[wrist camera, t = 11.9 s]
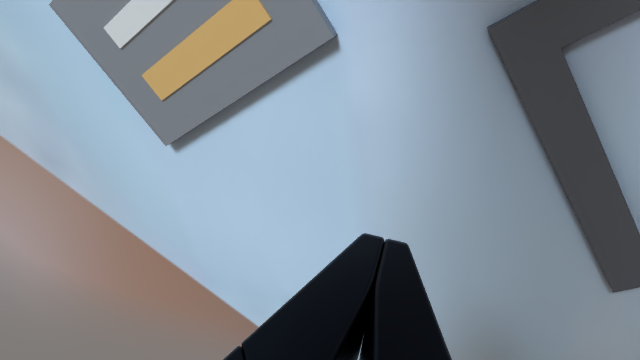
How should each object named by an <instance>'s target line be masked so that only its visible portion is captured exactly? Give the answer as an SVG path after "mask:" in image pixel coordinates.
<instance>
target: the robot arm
mask: <svg viewBox="0 0 640 360" xmlns="http://www.w3.org/2000/svg"><path fill="white" fill-rule="evenodd" d="M363 336H364V337H363ZM362 341H363V342H362ZM361 345H362V347H361ZM360 348H361V352H360ZM359 352H360V359H359V360H452V359H451V357H450V354H449V351H448V349H447V346H446V344H445V341H444V338H443V336H442V333H441V330H440V328H439V325H438V322H437V320H436V317H435V314H434V312H433V309H432V307H431V304H430V301H429V299H428V296H427V293H426V291H425V288H424V285H423V283H422V280H421V277H420V275H419V272H418V270H417V267H416V264H415V262H414V259H413V256H412V254H411V251H410V248H409V246H408V245H407V244H406V243H404V242H400V241H396V240H392V239H386V240H385V242H384V239H383V238H382V237H379V236H375V235H371V234H366V233H364V234H362V235H360V236H359V237H358V238H357V239H356V240H355V241H354V242H353V243H352V244H350V245H349V246H348V247H347V248H346V249H345V250H344V251H343V252H342V253H341V254H339V255H338V256H337V257H336V258H335V259H334V260H333V261H332V262H331V263H330V264H328V265H327V266H326V267H325V268H324V269H323V270H322V271H321V272H320V273H318V274H317V275H316V276H315V277H314V278H313V279H312V280H311V281H310V282H309V283H307V284H306V285H305V286H304V287H303V288H302V289H301V290H300V291H299V292H298V293H296V294H295V295H294V296H293V297H292V298H291V299H290V300H289V301H288V302H286V303H285V304H284V305H283V306H282V307H281V308H280V309H279V310H278V311H277V312H275V313H274V314H273V315H272V316H271V317H270V318H269V319H268V320H267V321H266V322H264V323H263V324H262V325H261V326H260V327H259V328H258V329H257V330H256V331H255V332H253V333H252V334H251V335H250V336H249V337H248V338H247V339H246V340H245V341H243V343H242V347H240V346H238V347H236V348H235V349H234V350H233V351H232V352H231V353H230V354H229V355H228V356H227V357H226V358H224V359H223V360H357V359H358V356H359Z"/></svg>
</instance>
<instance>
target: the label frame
mask: <svg viewBox="0 0 640 360" xmlns="http://www.w3.org/2000/svg"><path fill="white" fill-rule="evenodd" d="M638 11H640V0H537V1H535V2H533V3H531V4H530V5H528V6H526V7H524V8H522V9H520V10H519V11H517V12H515V13H513V14H511V15H509V16H507V17H506V18H504V19H502V20H500V21H498V22H496V23H495V24H493V25H491V26H489V27H487V28H488V31H489V33H490V35H491V38H492V40H493V42H494V44H495V46H496V48H497V50H498V52H499V54H500V56H501V58H502V61H503V63H504V65H505V67H506V69H507V71H508V73H509V75H510V77H511V79H512V82H513V84H514V86H515V88H516V90H517V92H518V94H519V96H520V98H521V100H522V102H523V105H524V107H525V109H526V111H527V113H528V115H529V117H530V119H531V121H532V123H533V125H534V128H535V130H536V132H537V134H538V136H539V138H540V140H541V142H542V144H543V146H544V149H545V151H546V153H547V155H548V157H549V159H550V161H551V163H552V165H553V167H554V169H555V172H556V174H557V176H558V178H559V180H560V182H561V184H562V186H563V188H564V190H565V193H566V195H567V197H568V199H569V201H570V203H571V205H572V207H573V209H574V211H575V213H576V216H577V218H578V220H579V222H580V224H581V226H582V228H583V230H584V232H585V234H586V236H587V239H588V241H589V243H590V245H591V247H592V249H593V251H594V253H595V255H596V257H597V260H598V262H599V264H600V266H601V268H602V270H603V272H604V274H605V276H606V278H607V280H608V283H609V285H610V287H611V289H612V291H613V292H618V291H623V290H628V289H633V288H638V287H640V234H639V232H638V229H637V227H636V225H635V222H634V220H633V218H632V215H631V213H630V211H629V208H628V206H627V203H626V201H625V199H624V196H623V194H622V192H621V189H620V187H619V185H618V182H617V180H616V177H615V175H614V173H613V170H612V168H611V166H610V163H609V161H608V159H607V156H606V154H605V151H604V149H603V147H602V144H601V142H600V140H599V137H598V135H597V133H596V130H595V128H594V125H593V123H592V121H591V118H590V116H589V114H588V111H587V109H586V107H585V104H584V102H583V99H582V97H581V95H580V92H579V90H578V88H577V85H576V83H575V81H574V78H573V76H572V73H571V71H570V69H569V66H568V64H567V62H566V59H565V57H564V55H563V52H562V50H561V48H562V47H564V46H566V45H568V44H570V43H572V42H575V41H577V40H579V39H581V38H583V37H585V36H587V35H589V34H591V33H593V32H596V31H598V30H600V29H602V28H604V27H606V26H608V25H610V24H612V23H614V22H617V21H619V20H621V19H623V18H625V17H627V16H629V15H631V14H633V13H635V12H638Z"/></svg>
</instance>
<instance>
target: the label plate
mask: <svg viewBox="0 0 640 360" xmlns="http://www.w3.org/2000/svg"><path fill="white" fill-rule="evenodd" d="M49 5H50V7H51V8H52V9H53V10H54V11H55V13H56V14H57V15H58V16H59V17H60V19H61V20H62V21H63V22H64V23H65V25H66V26H67V27H68V28H69V30H70V31H71V32H72V33H73V34H74V36H75V37H76V38H77V39H78V40H79V42H80V43H81V44H82V45H83V46H84V48H85V49H86V50H87V51H88V53H89V54H90V55H91V56H92V57H93V59H94V60H95V61H96V62H97V63H98V65H99V66H100V67H101V68H102V69H103V71H104V72H105V73H106V74H107V76H108V77H109V78H110V79H111V80H112V82H113V83H114V84H115V85H116V86H117V88H118V89H119V90H120V91H121V92H122V94H123V95H124V96H125V97H126V98H127V100H128V101H129V102H130V103H131V105H132V106H133V107H134V108H135V109H136V111H137V112H138V113H139V114H140V115H141V117H142V118H143V119H144V120H145V121H146V123H147V124H148V125H149V126H150V128H151V129H152V130H153V131H154V132H155V134H156V135H157V136H158V137H159V138H160V140H161V141H162V142H163V143H164V144H165V146H167V145H169V144H170V143H172V142H173V141H175V140H176V139H178V138H179V137H181V136H182V135H184V134H185V133H187V132H189V131H190V130H192V129H193V128H195V127H196V126H198V125H199V124H201V123H202V122H204V121H205V120H207V119H208V118H210V117H212V116H213V115H215V114H216V113H218V112H219V111H221V110H222V109H224V108H225V107H227V106H228V105H230V104H232V103H233V102H235V101H236V100H238V99H239V98H241V97H242V96H244V95H245V94H247V93H248V92H250V91H252V90H253V89H255V88H256V87H258V86H259V85H261V84H262V83H264V82H265V81H267V80H268V79H270V78H272V77H273V76H275V75H276V74H278V73H279V72H281V71H282V70H284V69H285V68H287V67H288V66H290V65H291V64H293V63H295V62H296V61H298V60H299V59H301V58H302V57H304V56H305V55H307V54H308V53H310V52H311V51H313V50H315V49H316V48H318V47H319V46H321V45H322V44H324V43H325V42H327V41H328V40H330V39H331V38H333V37H334V36H335V35H336V34H337V33H336V31H335V29H334V28H333V26H332V24H331V23H330V21H329V20H328V18H327V16H326V15H325V13H324V11H323V10H322V8H321V6H320V5H319V3H318V1H317V0H53V1H52V2H51V3H50V4H49Z"/></svg>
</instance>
